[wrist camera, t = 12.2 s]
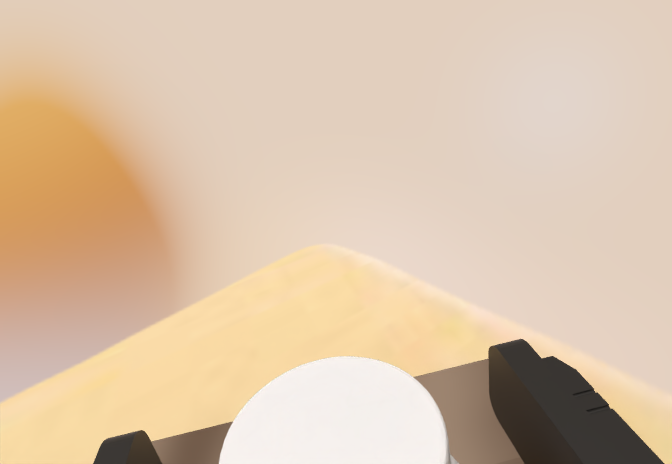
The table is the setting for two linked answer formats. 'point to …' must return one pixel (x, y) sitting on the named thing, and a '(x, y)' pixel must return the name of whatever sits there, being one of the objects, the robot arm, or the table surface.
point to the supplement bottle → (339, 418)
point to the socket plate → (448, 393)
